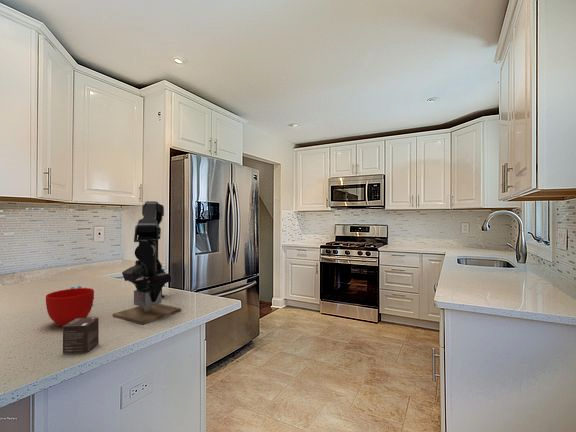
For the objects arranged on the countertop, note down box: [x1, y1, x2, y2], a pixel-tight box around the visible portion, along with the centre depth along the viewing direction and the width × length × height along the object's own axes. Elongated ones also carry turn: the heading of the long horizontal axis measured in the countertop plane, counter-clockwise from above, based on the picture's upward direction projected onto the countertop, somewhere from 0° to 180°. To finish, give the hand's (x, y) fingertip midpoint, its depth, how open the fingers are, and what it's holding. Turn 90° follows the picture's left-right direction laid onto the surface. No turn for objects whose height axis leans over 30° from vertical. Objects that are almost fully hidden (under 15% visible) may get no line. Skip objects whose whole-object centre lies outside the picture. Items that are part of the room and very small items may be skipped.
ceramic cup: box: [45, 287, 95, 328], centre depth 102 cm, size 13×17×10 cm
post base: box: [112, 303, 182, 326], centre depth 110 cm, size 16×16×6 cm
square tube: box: [133, 287, 162, 308], centre depth 110 cm, size 6×6×5 cm
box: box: [62, 317, 100, 355], centre depth 81 cm, size 6×6×7 cm
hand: (147, 300), depth 110 cm, fingers closed on square tube, 6 cm apart
